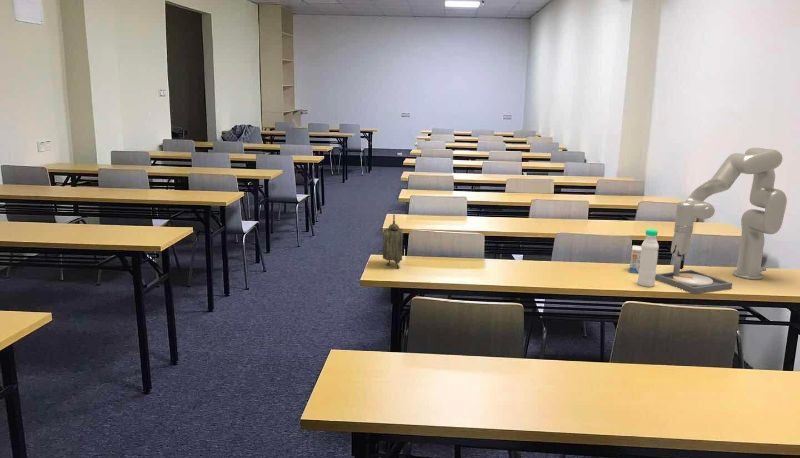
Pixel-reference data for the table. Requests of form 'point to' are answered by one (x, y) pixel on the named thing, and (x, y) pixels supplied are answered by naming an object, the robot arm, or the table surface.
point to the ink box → (635, 259)
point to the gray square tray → (716, 286)
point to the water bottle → (648, 259)
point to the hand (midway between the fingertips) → (678, 268)
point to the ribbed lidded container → (393, 243)
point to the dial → (689, 276)
